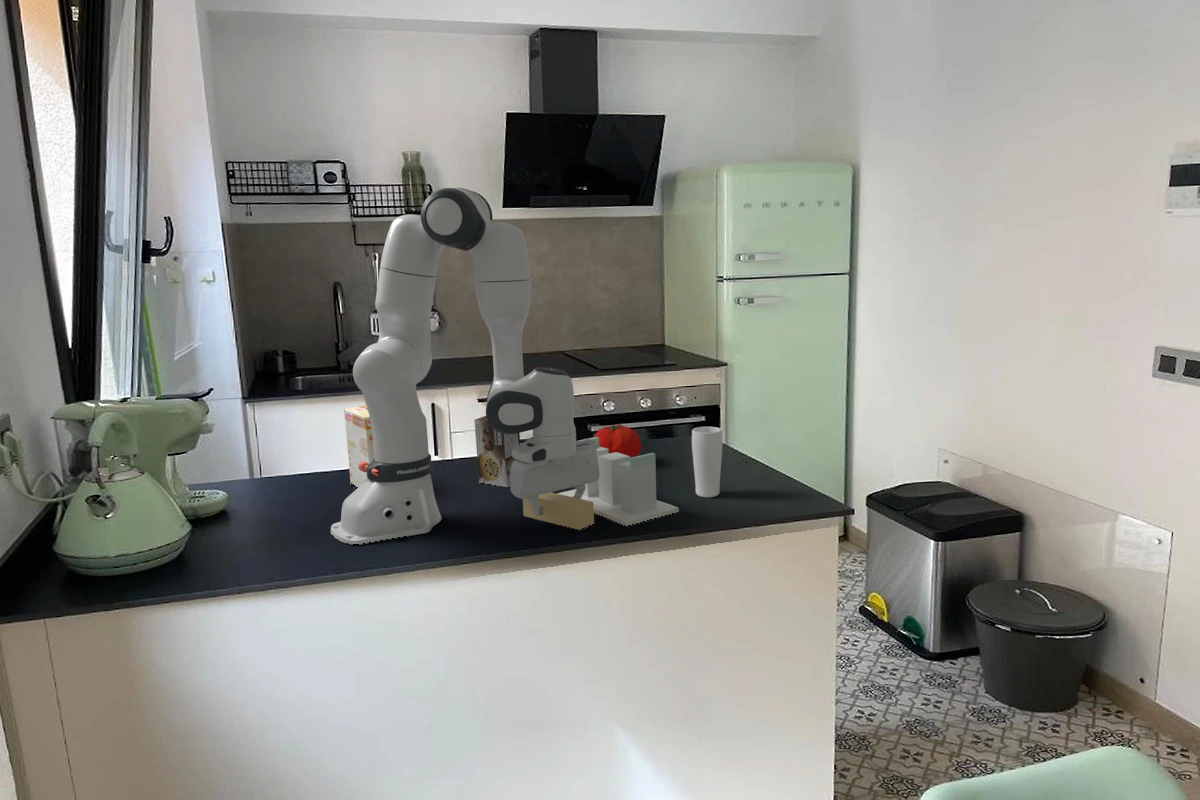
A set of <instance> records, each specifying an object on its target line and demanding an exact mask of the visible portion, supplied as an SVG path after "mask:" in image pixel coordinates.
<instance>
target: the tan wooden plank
mask: <svg viewBox="0 0 1200 800" xmlns="http://www.w3.org/2000/svg"><path fill="white" fill-rule="evenodd" d="M538 497H539V500H536V501H537V503H538V505H540V506H543V509H544V510H543V512H544V514H543V515H539V516H536V515H534V514H533V506H532V505H531V504H530V502H529V501H528V498H525V499H522V508H523V509H522V512H523V516H524V517H526V518H532V519H534V520H538V521H541V522H542V521H543V522H547V523H551V524H553V523H554V525H558V526H561V525H562V527H565V526H566V528H569V527H570V529H573V528H574V529H573V530H577V529H578V530H577V531H581V530H583V529H582V528H584V529H586V528H589V527H590V526H589V525H591V526H593V525H592V524H594V525H595V514H594V505H593V502H591V501H587V500H582V499H578V498H574V497H569V496H565V495H561V494H558V493H557V492H556V493H555V492H550V493H546V494H542V495H538ZM588 526H589V527H588ZM585 527H586V528H585ZM580 529H581V530H580Z"/></svg>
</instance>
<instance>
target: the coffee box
mask: <svg viewBox="0 0 1200 800" xmlns="http://www.w3.org/2000/svg"><path fill="white" fill-rule="evenodd" d="M473 422H474V431H475V435H474V436H475V446H476V458H477V459H476V460H477V472H478V483H479V484H480V483H485V484H484V485H487V484H491V485H490V486H495V485H496V486H495V487H501V486H502V487H501V488H510V472H511V466H512V463H513V462H514V461H515V460H516V459H515V458H513V456H512V449H513V448H515V447H516V446H518V445H520V444H521V436H520V435H521V434H520V433H516V434H502V433H499V432H497V431H496V430H494V429H493V428H492V427H491V426H490V424H489V423H488V421H487V418H486V415H484V416H481V417H478V418H476V419H474V421H473Z"/></svg>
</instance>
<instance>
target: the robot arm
mask: <svg viewBox="0 0 1200 800" xmlns="http://www.w3.org/2000/svg"><path fill="white" fill-rule="evenodd" d="M493 218H494V217H493V210H492V208H491V206H490V204H489V202H488V201H487V199H486V198H485V197H484V196H482V195H481V194H480V193H478V192H476V191H473V190H470V189H468V188H463V187H445V188H444V187H443V188H440V189H437V190H436V191H433V192H432V193H431V194H430V195H428V196H427V197H426V199H425V201H424V202H423V204H422V206H421V210H420V214H413V213H412V214H408V213H407V214H404V215H399V216H398V217H396V218H395V219H393V221H392V222H391V223H390V227H389V229H388V232H387V235H386V238H385V243H384V247H383V250H382V255H381V260H380V266H379V274H378V278H377V279H378V280H377V281H378V282H377V287H376V294H375V301H374V307H375V310H376V312H377V317H378V328H379V329H378V331H379V332H378V340H377V342H375V343H372V344H370V345H368V346H367V347H366V348H365V349H364V350H362V352H361V353H360V354H359V355H358V357H357V358H356V360H355V362H354V364H353V368H352V376H353V380H354V383H355V385H356V386H357V388H358V389H359V390H360V391H361V392H362V396H363V399H364V402H365V406H367V409H368V413H369V416H370V420H371V426H372V435H373V445H374V456H375V458H374V459H373V461H372V462H371V463H370V464H368V463H366V462H365V461H362V462H360V464H358V469H360V470H361V471H363V472H367V479H366V480H365V481H364V482H363V483H362V484H361V485H360V486H359V487H358V488H357V489H355V490H354V491H352V493H350V494H349V495H348V496H347V497H346V498H345V499H344V501H343V502H342V505H341V515H340V521H338V522H335V523H333V524H332V525H331V526H330V534H331V536H332V535H333V536H334V537H333V536H332V537H333V538H334V539H336V540H337V539H338V540H337V541H340V542H341V543H344V544H347V543H348V545H353V544H359V545H364V544H363V543H365V544H369V542H371V543H376V542H375V541H377V542H381V541H380V540H383V541H387V540H386V539H388V540H392V538H394V539H399V538H398V537H400V538H403V537H404V536H406V537H410V536H416V535H421V534H422V535H423V534H427V533H430V532H431V531H432V528H433V527H434V526H436V525H437V524H439V523H440V522H441V520H442V515H441V514H440V510H439V508H438V504H437V501H436V496H435V493H434V487H433V481H432V480H433V462H432V455H431V453H430V452H429V437H428V424H427V418H426V416H425V414H424V413H423V410H422V408H421V404H420V400H419V396H418V392H417V384H419V383H421V382H422V381H423V380H424V379H425V378H426V377H427V375H428V373H429V371H430V370H431V367H432V362H433V353H432V351H431V350H432V349H431V348H432V347H431V346H432V345H431V344H432V338H431V337H432V334H431V333H432V329H431V325H432V323H431V320H432V319H431V317H432V308H433V300H434V293H435V286H436V279H437V274H438V273H437V272H438V266H439V260H440V256H441V254H442V252H443V250H444V249H445V248H446V247H449V248H454V249H458V250H460V251H464V252H469V254H470V256H471V259H472V261H473V269H474V285H475V295H476V296H475V297H476V301H477V306H478V309H479V313H480V316H481V318H482V320H483V321H484V323H485V325H486V327H487V329H488V332H489V334H490V340H491V348H492V360H493V378H492V382H491V384H490V387H489V389H488V392H487V396H486V407H485V416H486V418H487V421H488V423H489V424H490V426H491V427H492V428H493V429H494V430H496V431H497V432H499V433H502V434H516V433H525V432H529V431H532V436H531V437H530V438H528V439H527V440H525V441H524V442H522V443H520V445H518V446H516V447H515V448H513V449H512V456H513V458H515V459H516V460H515V461H514V462H513V463H512V466H511V472H510V487H509V488H510V492H511V493H512V495H513V496H514V497H516V498H519V499H520V500H523V499H525V498H528V501H529V502H530V504H531V505H532V506H533V514H534V515H536V516H539V515H543V514H544V512H543V510H544V509H543V506H540V505H538V503H537V501H536V500H539V497H538V495H542V494H546V493H550V492H552V493H555V492H558V491H562V490H566V489H571V488H574V489H576V492H575V494H574V496H573V497H574V498H578V499H581V497H582V496H583V493H584V491H585V484H588V483H593V482H596V481H597V480H598V479H599V477H600V471H599V463H598V458H597V446H596V444H595V442H594V441H591V440H590V439H589V438H585V439H586V440H584V439H582V440H583V441H579V440H577V431H576V429H577V428H576V426H575V423H574V415H575V412H576V408H575V407H576V404H575V403H576V402H575V401H576V400H575V391H574V385H573V380H572V378H571V376H570V375H569V374H568V373H567V372H566V371H565V370H562V369H559V368H556V367H549V366H537V367H535V368H534V369H533V370H532V371H530V373H528V374H526V375H525V373H524V372H525V371H524V359H523V356H524V355H523V332H524V327H525V324H526V322H527V319H528V317H529V314H530V313H529V312H530V307H531V299H532V277H531V276H532V275H531V267H530V265H531V264H530V257H529V252H528V247H527V242H526V239H525V236H524V233H523V231H522V230H521V228H519V227H518V226H515V225H514V224H511V223H507V222H497V221H493ZM591 442H592V443H591Z"/></svg>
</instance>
